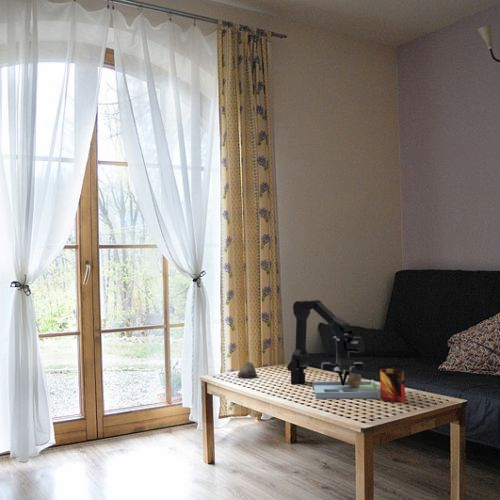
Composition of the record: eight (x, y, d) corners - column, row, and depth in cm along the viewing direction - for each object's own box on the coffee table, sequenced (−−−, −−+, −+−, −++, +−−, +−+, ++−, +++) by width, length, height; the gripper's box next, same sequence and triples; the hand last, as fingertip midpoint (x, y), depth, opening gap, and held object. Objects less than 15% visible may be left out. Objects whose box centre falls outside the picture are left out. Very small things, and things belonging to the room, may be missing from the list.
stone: (248, 386, 298) (262, 371, 300) (236, 374, 298) (250, 360, 300) (245, 385, 308) (258, 371, 310) (233, 374, 308) (247, 359, 310)
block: (347, 385, 264) (350, 374, 264) (346, 382, 269) (349, 372, 269) (358, 388, 264) (361, 377, 264) (357, 385, 269) (360, 375, 269)
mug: (404, 405, 241) (403, 375, 241) (375, 399, 251) (375, 371, 251) (417, 401, 247) (416, 372, 247) (389, 395, 258) (388, 368, 258)
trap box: (315, 398, 255) (315, 389, 255) (312, 389, 273) (312, 380, 273) (380, 398, 253) (380, 388, 253) (373, 388, 272) (373, 379, 272)
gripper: (323, 353, 260) (323, 389, 259) (366, 353, 259) (366, 389, 259) (321, 349, 271) (321, 384, 271) (362, 349, 270) (362, 383, 270)
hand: (343, 385), depth 267 cm, fingers closed
